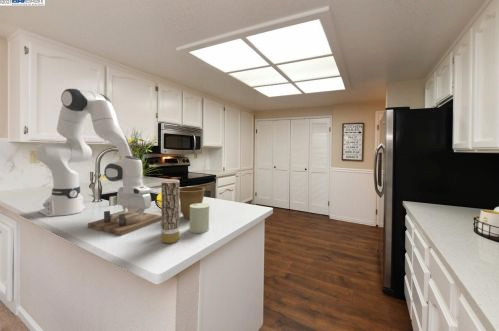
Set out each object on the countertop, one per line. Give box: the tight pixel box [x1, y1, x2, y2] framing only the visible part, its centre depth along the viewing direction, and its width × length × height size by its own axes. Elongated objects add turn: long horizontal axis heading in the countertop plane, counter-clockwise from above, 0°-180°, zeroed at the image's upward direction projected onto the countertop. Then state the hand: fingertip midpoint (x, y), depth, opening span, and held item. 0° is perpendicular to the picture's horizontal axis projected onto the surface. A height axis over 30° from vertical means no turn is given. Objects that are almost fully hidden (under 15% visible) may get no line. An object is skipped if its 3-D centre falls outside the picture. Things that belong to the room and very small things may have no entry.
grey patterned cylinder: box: [160, 178, 180, 245], centre depth 90 cm, size 7×7×25 cm
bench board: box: [87, 210, 161, 237], centre depth 109 cm, size 22×24×7 cm
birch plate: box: [110, 210, 141, 225], centre depth 107 cm, size 12×8×3 cm, turn 68°
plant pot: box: [179, 186, 205, 220], centre depth 121 cm, size 15×15×16 cm
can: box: [188, 202, 211, 234], centre depth 104 cm, size 9×9×12 cm
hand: (133, 215), depth 112 cm, fingers open, 8 cm apart
